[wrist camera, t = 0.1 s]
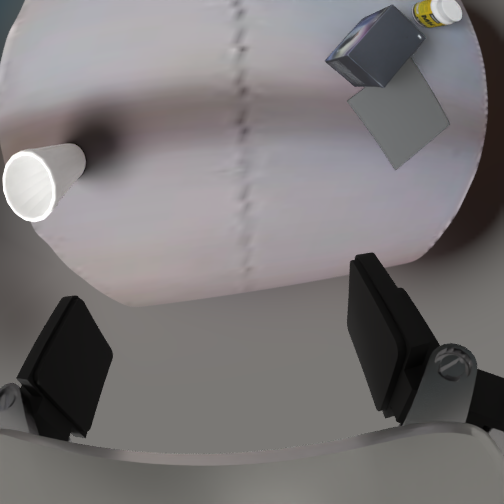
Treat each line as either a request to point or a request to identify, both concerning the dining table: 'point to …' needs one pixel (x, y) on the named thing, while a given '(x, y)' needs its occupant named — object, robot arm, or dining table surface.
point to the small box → (376, 48)
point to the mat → (400, 114)
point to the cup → (41, 178)
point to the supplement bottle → (436, 12)
